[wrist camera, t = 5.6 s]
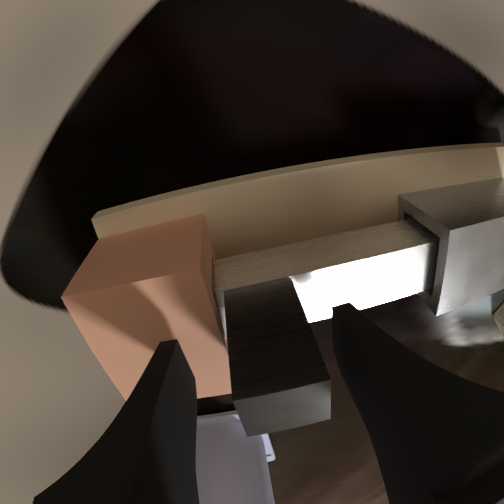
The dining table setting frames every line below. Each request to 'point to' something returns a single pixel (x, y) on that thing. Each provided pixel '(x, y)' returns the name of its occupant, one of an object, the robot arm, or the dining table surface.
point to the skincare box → (500, 318)
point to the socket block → (152, 303)
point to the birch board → (307, 197)
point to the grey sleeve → (461, 240)
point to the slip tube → (307, 312)
